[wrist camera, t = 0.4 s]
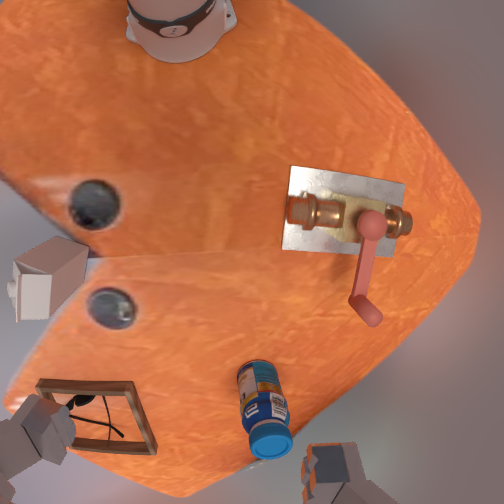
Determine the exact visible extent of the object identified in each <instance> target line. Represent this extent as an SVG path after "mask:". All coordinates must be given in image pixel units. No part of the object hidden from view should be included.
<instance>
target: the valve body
mask: <svg viewBox="0 0 504 504" xmlns="http://www.w3.org/2000/svg"><path fill="white" fill-rule="evenodd" d="M404 190H405V184H401V183H396V182H391V181H386V180H380V179H375V178H369V177H364V176H358V175H352V174H346V173H340V172H333V171H327V170H320V169H313V168H305V167H298V166H290V176H289V185H288V194H287V202H286V211H285V219H284V228H283V236H282V244H281V249H285V250H299V251H313V252H327V253H341V254H355V255H359V253H360V247H361V242H362V236H361V235H360V234H359V232H358V230H357V221H358V218H359V216H360V215H361V214H362V213H363V212H364V211H366V210H375V211H378V212H381V213H382V214H383V215H384V216H385V217H386V219H387V224H388V226H387V231H386V233H385V235H384V236H383V237H382V238H381V239H379V240H378V242H377V247H376V253H375V256H382V257H393V255H394V250H395V245H396V240H397V238H398V237H399V236H400V235H403V236H406V235H408V234H409V233H410V231H411V229H412V225H413V220H412V216H411V214H410V213H409V212H407V211H403V210H402V204H403V197H404Z"/></svg>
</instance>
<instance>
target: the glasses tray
mask: <svg viewBox="0 0 504 504" xmlns="http://www.w3.org/2000/svg"><path fill="white" fill-rule="evenodd" d="M35 388H36V390H37V392H38V394H39V396H41V397H43V398H46V399H48V400H51V401H53V402H56V401H55V399H54V397H53V395H52V393H62V394H78V395H100V396H126V397H127V400H128V403H129V405H130V408H131V410H132V412H133V415H134V417H135V420H136V422H137V424H138V427H139V429H140V431H141V434H142V436H143V438H144V440H145V442H126V441H109V447H108V440H96V439H85V438H76V437H75V439H74V441H73V443H72V444H71V445H69V446H68V447H69V448H70V449H75V450H83V451H92V452H102V453H114V454H130V455H156V454H157V447H158V445H157V442H156V440H155V438H154V435H153V433H152V430H151V428H150V425H149V423H148V420H147V418H146V415H145V413H144V410H143V408H142V405H141V402H140V400H139V397H138V394H137V391H136V388H135V386H134V383H133V381H75V380H56V379H40V380H39V382H38V383H37V385H36V386H35ZM107 447H108V448H107Z"/></svg>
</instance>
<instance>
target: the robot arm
mask: <svg viewBox="0 0 504 504" xmlns="http://www.w3.org/2000/svg"><path fill="white" fill-rule="evenodd" d="M127 3H128V7H127V9H128V11H129V16H127V18H126V19H127V23H128V26H127V30H126V37H127V39H128V40H129V41H131V42H133V43H136V44H139V45H140V46H141V47H142V48H143V49H144V50H145V51H146V52H147V53H148V54H149V55H150V56H152V57H154V58H155V59H158V60H160V61H164V62H169V63H182V62H187V61H191V60H194V59H197V58H199V57H201V56H203V55H204V54H206V53H207V52H209V51H210V50H211V49H212V48H213V47H214V46H215V45H216V44H217V42H218V41H219V40H220V38H221V37H222V36H223V35H224V34H225V33H226V32H228V31H230V30H231V29H233V28H234V27H235V26H236V25H237V18H236V15H235V12H234V9H233V6H232V4H231V1H230V0H127ZM227 15H229V16H230V17H227ZM69 414H70V411H69V409H68V407H67V406H64V405H61V404H59V403H56V402H53V401H51V400H48V399H46V398H43V397H41V396H38V395H35V394H31V395H29V396H28V398H27V399H26V400H25V401H24V403H23V404H22V405H21V406H20V408H19V409H18V410H17V411H16V413H15V414H14V415H13V417H12V418H11V419H10V420H8V419H6V420H3V421H1V422H0V504H14V503H12V502H11V499H12V498H13V496H14V494H15V488H14V487H13V486H12V485H11V484H10V483H9V481H8V480H9V479H10V478H12V477H14V476H15V475H17V474H18V473H20V472H22V471H23V470H25V469H27V468H28V467H30V466H32V465H33V464H35V463H36V462H38V461H39V460H41V458H43V459H45V460H47V461H50V462H53V463H55V464H58V465H61V463H62V461H63V459H64V457H65V455H66V454H67V451H66V447H67V446H69V445H71V444H72V443H73V441H74V439H75V434H76V427H75V424H74V421H73V420H72V419H71V418H70V417H69ZM306 451H307V456H306V457H304V458H303V462H302V466H301V482H302V483H303V484H304V485H305V488H304V490H303V492H302V495H303V504H399V503H397V501H395V500H394V499H393V498H392V497H390V496H389V495H388V494H387V493H385V492H384V491H383V490H382V489H381V488H379V487H378V486H377V485H376V484H375V483H373V482H372V481H371V480H366V477H365V474H364V470H363V466H362V462H361V459H360V454H359V451H358V447H357V444H356V443H355V442H347V443H320V444H309V445H308V447H307V450H306Z"/></svg>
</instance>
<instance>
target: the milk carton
mask: <svg viewBox="0 0 504 504" xmlns="http://www.w3.org/2000/svg"><path fill="white" fill-rule="evenodd" d="M88 252H89V247H88V246H85V245H82V244H79V243H76V242H73V241H71V240H68V239H65V238H62V237H59V236H55V237H53V238H51V239H50V240H48V241H46V242H44V243H42V244H40V245H38V246H37V247H35V248H33V249H31V250H29V251H28V252H26V253H24V254H23V255H21V256H19V257H17V258H16V259H14V263H13V280H12V282H8V285H7V290H8V295H9V297H10V298H11V297H12V304H13V306H14V308H15V310H16V322H17V323H18V322H19V321H20V320H30V319H49V318H50V317H51V315H52V314H53V313H54V312H55V311H56V310H57V309H58V308H59V307H60V306H61V305H62V304H63V303H64V302H65V301H66V300H67V299H68V298H69V297H70V295H71V294H72V293H73V292H74V291H75V290H76V289H77V288H78V287H79V286H80V285H81V284H82V283H83V282H84V276H85V270H86V264H87V258H88Z"/></svg>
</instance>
